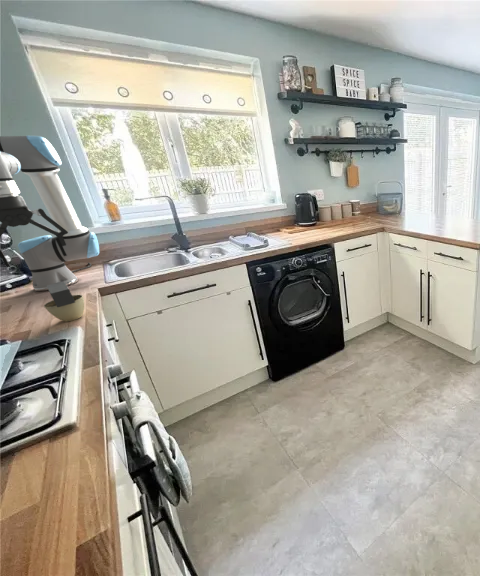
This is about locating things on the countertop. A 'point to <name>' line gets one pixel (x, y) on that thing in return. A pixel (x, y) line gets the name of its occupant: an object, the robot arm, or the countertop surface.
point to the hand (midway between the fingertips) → (38, 260)
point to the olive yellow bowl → (67, 309)
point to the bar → (60, 294)
